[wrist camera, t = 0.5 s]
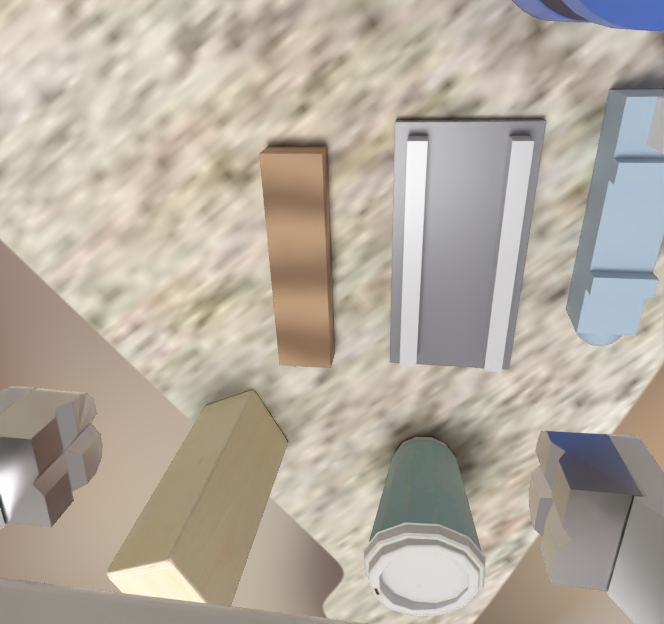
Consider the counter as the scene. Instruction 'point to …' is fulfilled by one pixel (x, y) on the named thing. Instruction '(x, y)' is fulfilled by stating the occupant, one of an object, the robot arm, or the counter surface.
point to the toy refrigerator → (205, 507)
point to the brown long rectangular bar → (300, 252)
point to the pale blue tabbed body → (621, 220)
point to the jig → (460, 238)
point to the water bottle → (600, 12)
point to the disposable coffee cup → (424, 534)
